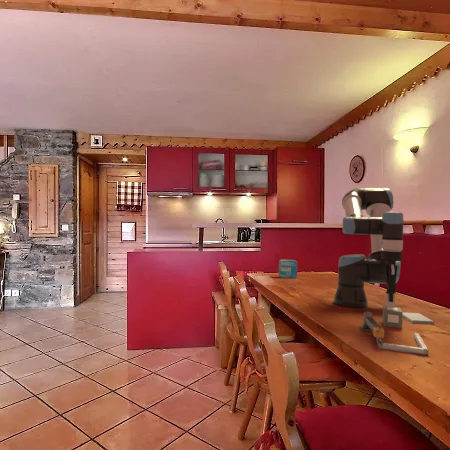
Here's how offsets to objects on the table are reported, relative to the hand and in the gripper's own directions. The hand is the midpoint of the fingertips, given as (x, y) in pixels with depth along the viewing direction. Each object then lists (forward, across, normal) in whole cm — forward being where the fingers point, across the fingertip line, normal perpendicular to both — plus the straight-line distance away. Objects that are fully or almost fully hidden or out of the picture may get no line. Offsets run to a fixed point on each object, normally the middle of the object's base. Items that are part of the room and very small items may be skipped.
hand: (390, 309), depth 136 cm
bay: (+4, +28, 0) cm, 29 cm away
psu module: (+4, +7, 0) cm, 8 cm away
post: (+4, +17, -9) cm, 20 cm away
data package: (+4, -85, -56) cm, 101 cm away
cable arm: (+1, +27, -8) cm, 28 cm away
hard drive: (+5, -6, +10) cm, 12 cm away
